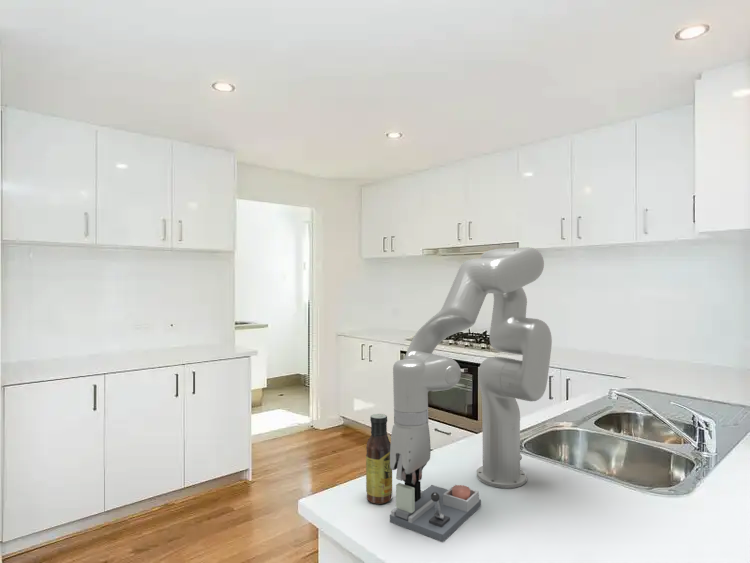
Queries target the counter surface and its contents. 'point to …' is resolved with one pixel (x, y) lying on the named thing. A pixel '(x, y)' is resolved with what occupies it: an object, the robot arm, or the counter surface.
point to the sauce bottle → (378, 462)
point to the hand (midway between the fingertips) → (412, 498)
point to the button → (461, 492)
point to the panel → (450, 507)
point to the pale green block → (405, 500)
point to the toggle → (437, 506)
